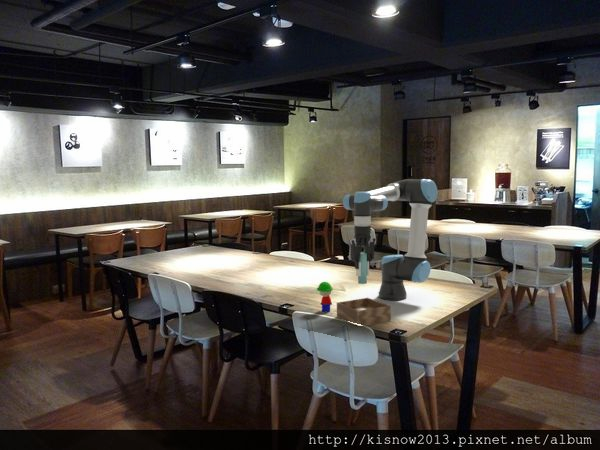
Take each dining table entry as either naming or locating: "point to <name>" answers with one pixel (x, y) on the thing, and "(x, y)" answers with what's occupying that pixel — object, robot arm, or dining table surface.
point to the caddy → (364, 311)
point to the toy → (325, 295)
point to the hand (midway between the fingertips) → (362, 275)
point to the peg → (363, 269)
